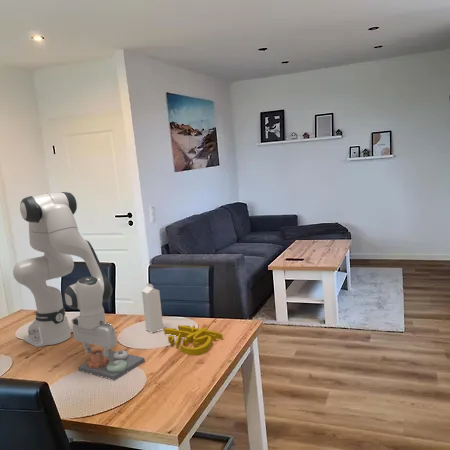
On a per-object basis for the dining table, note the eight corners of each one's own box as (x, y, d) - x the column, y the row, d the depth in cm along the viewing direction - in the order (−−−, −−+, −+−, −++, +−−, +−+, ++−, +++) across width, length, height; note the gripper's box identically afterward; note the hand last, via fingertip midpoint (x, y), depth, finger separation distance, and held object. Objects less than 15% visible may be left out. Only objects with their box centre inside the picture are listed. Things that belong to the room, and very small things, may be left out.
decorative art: (197, 351, 167) (144, 337, 185) (197, 358, 167) (145, 343, 185) (229, 332, 183) (178, 321, 202) (229, 338, 184) (178, 327, 202)
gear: (99, 357, 170) (97, 346, 170) (113, 361, 166) (112, 349, 165) (82, 366, 164) (81, 354, 163) (97, 370, 159) (95, 358, 159)
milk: (151, 333, 195) (146, 286, 192) (145, 330, 200) (140, 284, 197) (163, 329, 199) (158, 283, 196) (157, 326, 204) (152, 281, 201)
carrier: (78, 370, 164) (76, 355, 163) (110, 353, 177) (108, 339, 176) (114, 380, 154) (112, 364, 153) (145, 361, 167) (143, 347, 166)
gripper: (118, 320, 160) (122, 355, 162) (81, 313, 171) (85, 347, 172) (105, 326, 154) (110, 362, 156) (68, 319, 165) (73, 353, 167)
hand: (97, 354), depth 164 cm, fingers open, 8 cm apart
